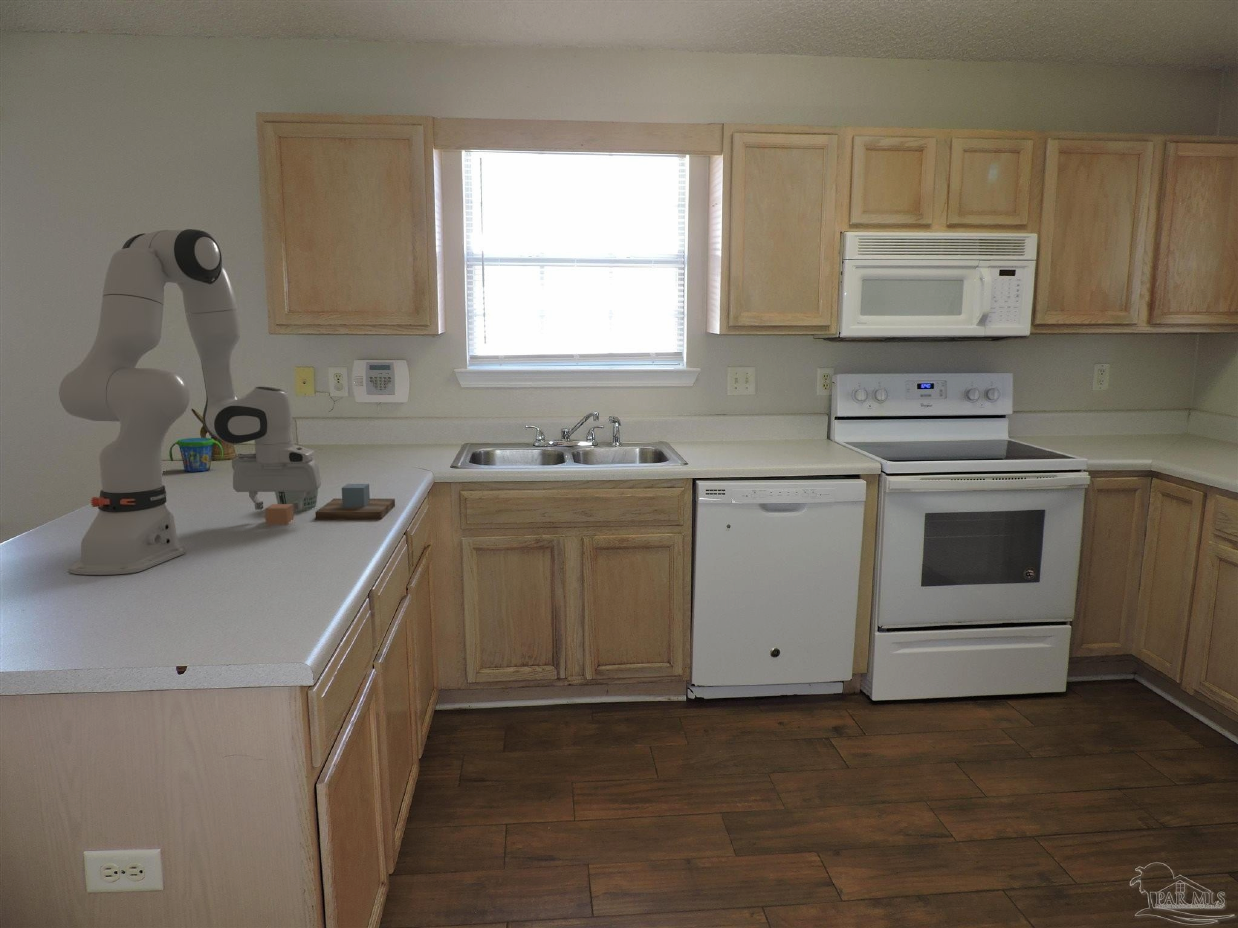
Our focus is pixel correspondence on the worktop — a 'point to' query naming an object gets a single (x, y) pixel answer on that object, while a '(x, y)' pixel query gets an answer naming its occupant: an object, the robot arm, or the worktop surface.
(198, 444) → the snack cup
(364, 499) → the slate block
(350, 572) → the worktop surface
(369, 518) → the walnut board
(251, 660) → the worktop surface
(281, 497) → the food container
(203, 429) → the wooden mug
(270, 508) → the terracotta block
